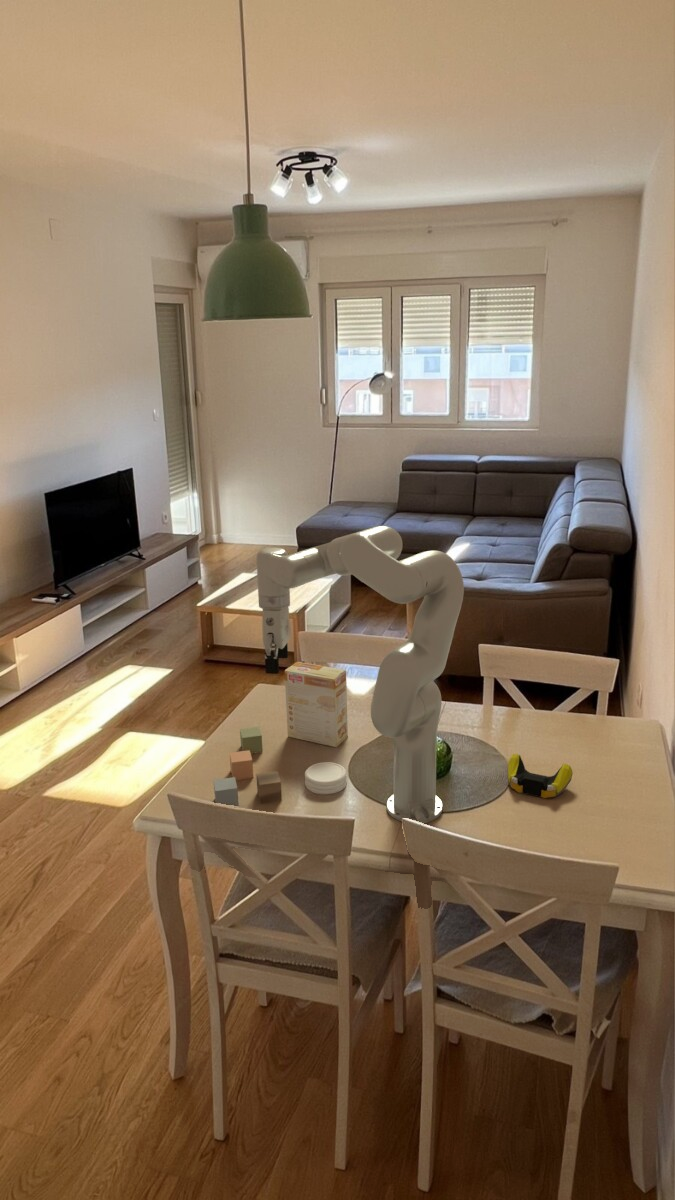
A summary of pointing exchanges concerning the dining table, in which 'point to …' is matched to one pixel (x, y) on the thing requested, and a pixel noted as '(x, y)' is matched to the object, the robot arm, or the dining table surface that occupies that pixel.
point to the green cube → (251, 739)
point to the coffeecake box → (316, 703)
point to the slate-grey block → (226, 791)
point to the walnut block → (269, 787)
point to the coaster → (325, 778)
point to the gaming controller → (537, 779)
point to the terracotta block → (241, 765)
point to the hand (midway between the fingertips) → (277, 665)
